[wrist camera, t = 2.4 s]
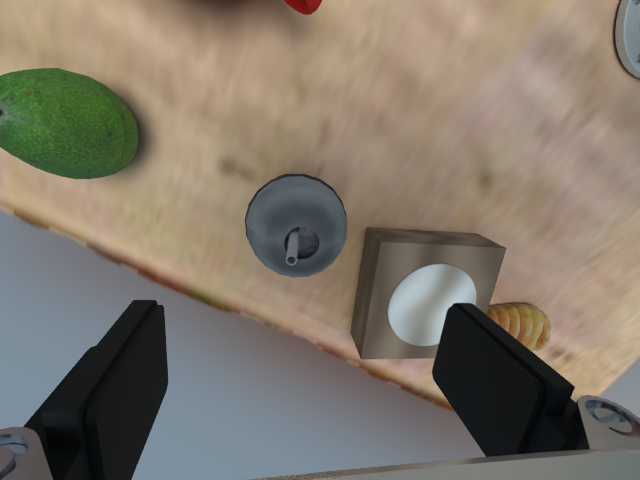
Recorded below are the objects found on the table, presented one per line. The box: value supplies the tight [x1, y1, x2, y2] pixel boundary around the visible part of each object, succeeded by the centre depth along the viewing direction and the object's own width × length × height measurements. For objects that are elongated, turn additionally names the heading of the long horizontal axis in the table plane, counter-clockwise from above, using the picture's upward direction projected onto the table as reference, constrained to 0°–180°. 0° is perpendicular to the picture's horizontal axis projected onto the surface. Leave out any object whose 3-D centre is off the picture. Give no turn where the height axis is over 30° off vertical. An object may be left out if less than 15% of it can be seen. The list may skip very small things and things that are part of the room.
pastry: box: [486, 303, 551, 351], centre depth 41 cm, size 9×7×4 cm
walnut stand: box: [351, 228, 506, 359], centre depth 36 cm, size 14×14×5 cm
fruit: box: [0, 68, 138, 179], centre depth 23 cm, size 8×8×12 cm
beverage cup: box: [245, 174, 347, 277], centre depth 24 cm, size 7×7×20 cm
